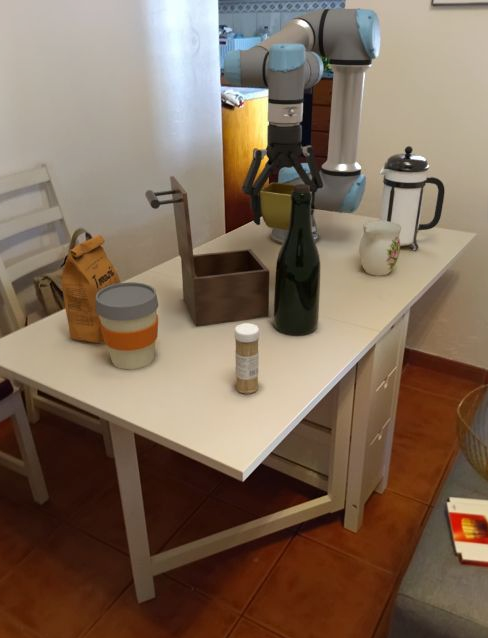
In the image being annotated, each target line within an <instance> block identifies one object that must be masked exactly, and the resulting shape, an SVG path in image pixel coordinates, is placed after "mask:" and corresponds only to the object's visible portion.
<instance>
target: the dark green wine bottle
mask: <svg viewBox="0 0 488 638" xmlns="http://www.w3.org/2000/svg"><path fill="white" fill-rule="evenodd" d="M311 200H312V193H311V191H310V186H309V185H306V184H297V185H295V186H294V191H292V194H291V214H290V222H289V228H288V231H287V234H286V237H285V239H284V242H283V244H281V246H280V249H279V252H278V254H277V258H276V263H275V265H276V266H275V273H274V293H273V326H274V327H275V329H277V331H279V332H280V333H283V334H287V335H291V336H302V335H307V334H310V333H312V332H314V331H315V330H316V329H318V328H317V327H318V326H319V314H320V295H321V257H320V253H319V249H318V246H317V243H316V242H315V240H314V237H313V233H312V227H311Z"/></svg>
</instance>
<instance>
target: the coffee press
mask: <svg viewBox="0 0 488 638" xmlns="http://www.w3.org/2000/svg"><path fill="white" fill-rule="evenodd" d="M413 151H414V150H413V147H412V146H410V145H408V146H406V147H405V149H404V152H405V153H396V154H393V155H391V156H389V157H388V158H387V160H386V162H385V163H384V165H383V167H382V168H381V169H380V171H379V173H378V174H379V175H383V179H382V183H383V187H382V195H381V205H380V211H379V213H380V214H379V220H378V221H389V222H393V223H396V224H398V225H400V226H401V232H400V234H399V240H400V247H403V246H404V247H405V246H409V247H410V249H411V250H412V251H416V250H418V249H419V244H418V243H417V238H418V233H419V231H427V230H431V229H433V228H435V227H436V226H437V225H438V224H439V222H440V220H441V217H442V211H443V205H444V199H445V191H446V190H445V185H444V183H443V182H442V180H440V179H439V178H437V177H434V176H430V177H427V173H428V171H429V168H430V165H429V164H428V160H427V159H426V157H424V156H422V155H420V154H414V153H412V152H413ZM427 184H431V185H435V186H436V187H437V198H436V204H435V208H434V215H433V219H432V220H431V221H430V222H428V223H420V219H421V215H422V206H423V201H424V193H425V187H426V186H427Z"/></svg>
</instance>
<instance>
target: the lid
mask: <svg viewBox="0 0 488 638" xmlns="http://www.w3.org/2000/svg"><path fill="white" fill-rule="evenodd" d="M169 179H170V180H169V181H170V188H171V189H170V190H163V191H156V192H154V191H153V190H151V189H148V190H147V191H146V192H145V194H144V195H145V198H146V199H147V201H148V203H149V206H150V207H151V208H152V209H155V210H156V209H157V210H158V209H159V207H160V206H163V205H169V204H170V205H171V204H172V206H173V215H174V224H175V230H176V232H175V233H176V240H177V248H178V249H177V250H178V255H179V258H180V260H181V259H182V261H183V262H184V264H185V266H186V268H187V270H188V272H189V273H190V275H191V277H196V276H195V267H194V257H193V255H194V249H193V248H194V247H193V239H192V238H193V237H192V229H191V219H190V210H189V201H188V200H189V199H188V192H186V190H185V188H184V187H183V186H182V184H181V183H180V182H179V181H178V179H177V178H176V177H175V176H174V175H172V176H171V175H170V176H169ZM168 195H169V196H170V195H171V197H172V198H171V199H165V200H159V198H158V197H160V196H168Z"/></svg>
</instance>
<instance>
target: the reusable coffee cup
mask: <svg viewBox="0 0 488 638" xmlns="http://www.w3.org/2000/svg"><path fill="white" fill-rule="evenodd" d="M159 305H160V304H159V299H158V295H157V291H156V289H155V288H154V287H153V286H152V285H150V284H146V283H142V282H134V281H133V282H120V283H118V284H114V285H110V286H107V287H105V288H103V289H101V290H100V291H99V292H98V293H97V294H96V312H97V313H98V314H99V317H100V320H99V325H100V328H101V332H102V335H103V342H104V344H105V345H106V346H107V349H108V353H109V356H110V360H111V362H112V364H113V365H114V366H115V367H117V368H119V369H123V370H138V369H142V368H145V367H147V366H148V365H150V364H152V363H153V361H154V360H155V351H156V341H157V339H158V333H159V332H158V331H159V315H158V308H159V307H160V306H159Z"/></svg>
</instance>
